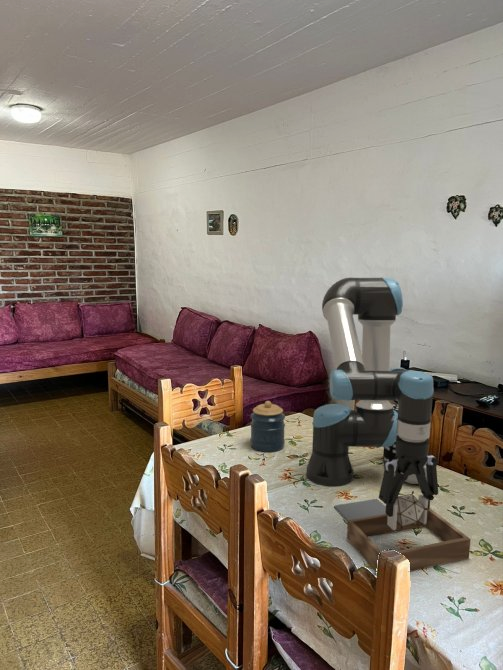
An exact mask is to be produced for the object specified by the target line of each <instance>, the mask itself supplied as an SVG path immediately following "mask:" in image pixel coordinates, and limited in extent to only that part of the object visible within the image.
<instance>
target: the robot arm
mask: <svg viewBox="0 0 503 670" xmlns="http://www.w3.org/2000/svg"><path fill="white" fill-rule="evenodd" d="M403 302H404V301H403V294H402V289H401V287H400V284H399V282H398V281H397V280H396V279H395V278H389V277H345V278H341V279H339V280H338V281H336V282H335V283H334V284H332V285H331V286H330V287H329V288H328V289H327V290H326V292H325V294H324V296H323V300H322V302H321V303H322V304H321V309H322V316H323V317H324V319H325V320H326V321H327V326H328V331H329V337H330V344H331V349H332V356H333V361H334V367H335V370H332V371H331V372H330V374H329V393H330V396H331V398H332V399H334V400H338V401H339V400H340V401H358V402H356V403H355V409H353V410H352V409H351V407H350V406H349V405H348V404H344V403H330V404H324V405H321V406H319V407H317V408H316V409H315V410H314V412H313V417H312V418H313V419H312V449H311V450H312V452H311V455H310V457H309V460H308V463H307V465H306V477H307V479H309V481H311V482H313V483H316V484H317V485H318V484H319V485H322V486H328V487H330V486H331V487H337V486H344V485H347V484H349V483H351V482H352V481H353V479H354V468H353V465H352V463H351V460H350V456H349V448H350V447H353V448H354V447H355V448H357V447H358V448H360V447H362V448H364V447H365V448H379V449H380V448H384V447H389V446H392V445H393V444H394V442H395V441H396V457H395V459H394V461H391V462H388V461H384V462H383V474H382V478H381V479H382V480H381V485H380V489H379V494H378V500H379V501H380V500H381V501H380V502H381V503H383V504H384V505H385V506H386V511H385V512H386V514H387V515H388V519H387V525H388V526H389V527H390V528H391V529H392V530H396V525H397V509H398V505H397V504H396V503H395V502H396V500H397V497H398V496H400V493H401V490H402V488H403V486H404V484H405V482H404V481H405V480H407V478H408V476H409V475H412V474H415V475H416V478H417V481H418V484H417V485H418V486H419V489H420V492H421V494H418V499H417V500H418V501H419V502H420V504H421V505H422V506H423V507H424V508H428V510H429V508H430V509H431V501H433V500H434V499H435V496H437V495H438V494H439V484H438V471H437V467H438V462H439V459H438V457H436V456H434V455H432V454H431V453H429V450H430V449H429V448H430V440H429V438H430V435H431V421H432V419H431V418H432V407H433V397H434V396H433V395H434V392H435V390H434V378H433V376H432V375H431V374H429V373H426V372H423V371H418V370H408V369H405V368H404V367H401V366H400V367H398V366H397V367H393V368H390V356H391V355H390V354H391V352H390V351H391V346H390V345H391V327H392V325H393V324H394V323H395V322H396V321H397V320H396V319H397V318H396V317H397V316H399V315H401V314H402V312H403V308H404V307H403V305H404V303H403ZM354 315H357V321H358V322H359V323H360V324H361V325H362V340H361V341H362V342H361V345H362V346H361V345H360V341H359V337H358V333H357V329H356V324H355V320H354ZM361 349H362V350H361ZM390 401H396V403H397V404H398V413H397V412H396V411H394V410H393V405H392V404H393V403H391V402H390ZM425 464H426V472H427V479H426V477H425V475H426V474H425V471H424V468H423V467H424V465H425ZM396 466H397V468H396ZM401 472H402V473H403V474H402V473H401ZM434 495H435V496H434ZM419 521H420V522H421V523H423V524H426V523H427V510H424V512H423V514H422V516H421V518H420V520H419Z"/></svg>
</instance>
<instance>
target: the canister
mask: <svg viewBox="0 0 503 670" xmlns="http://www.w3.org/2000/svg"><path fill="white" fill-rule="evenodd" d="M285 418H286V415H285V414H284V409H283V408H282V407H280V406H279V405H277V404H273V403H272V402H271V401H270V400H266V401H265V402H264V403H261V404H259V405H256V407H254V408H253V409H252V413H251V414H250V419H251V423H250V447H251V448H252V449H254V450H255V451H259V452H264V453H272V452H273V453H274V452H277V451H280V450H282V449H284V447H285V443H286V441H285V440H286V439H285V427H286V423H285V422H284V420H285Z"/></svg>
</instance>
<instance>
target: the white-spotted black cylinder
mask: <svg viewBox="0 0 503 670" xmlns="http://www.w3.org/2000/svg"><path fill="white" fill-rule="evenodd" d="M391 404H392V405H393V410H394V411H396V412H397V413H398V403H391ZM382 454H383V456H382V457H383V458H382V461H383V463H384V461H388V462H391V461H394V459H395V457H396V441H395V442H394V444H393V445H392V446H389V447H383V453H382Z"/></svg>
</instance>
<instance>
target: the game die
mask: <svg viewBox="0 0 503 670" xmlns="http://www.w3.org/2000/svg"><path fill="white" fill-rule="evenodd" d="M414 494H415V492H414V490H412V491H411V494H410V493H409V494H404V495H398V497H397V500H396V502H395V503H396V504H397V505H398V509H397V521H398V522H399V524H400V525H401V530H402V528H403V527H404V526H409V525H414V524H417V526H419V524H420V522H418V521H419V520H420V518H421V516H422V514H423V512H424V510H428V508H424V507H423V506H422V505H421V504H420V502H419V501H418V499H417V498H416V496H415V495H414Z"/></svg>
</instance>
